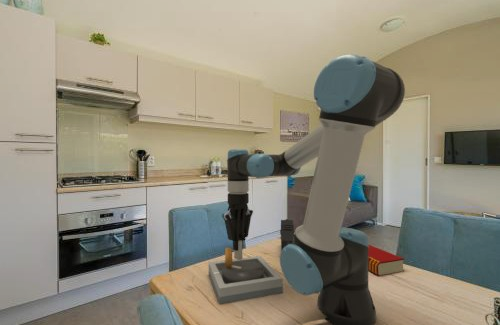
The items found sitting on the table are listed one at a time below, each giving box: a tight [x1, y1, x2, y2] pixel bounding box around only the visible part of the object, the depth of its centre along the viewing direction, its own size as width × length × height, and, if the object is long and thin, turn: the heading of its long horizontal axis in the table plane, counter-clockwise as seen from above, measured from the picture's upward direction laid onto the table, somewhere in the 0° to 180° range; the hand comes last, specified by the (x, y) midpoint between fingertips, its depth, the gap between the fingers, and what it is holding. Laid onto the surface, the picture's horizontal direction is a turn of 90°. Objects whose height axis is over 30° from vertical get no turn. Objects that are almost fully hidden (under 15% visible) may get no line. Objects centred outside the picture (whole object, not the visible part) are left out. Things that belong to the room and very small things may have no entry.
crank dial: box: [222, 247, 264, 284], centre depth 85 cm, size 14×14×8 cm
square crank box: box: [208, 255, 284, 305], centre depth 85 cm, size 20×20×5 cm
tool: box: [279, 218, 295, 251], centre depth 110 cm, size 6×19×15 cm, turn 174°
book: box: [368, 243, 405, 277], centre depth 101 cm, size 18×13×5 cm
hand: (238, 258), depth 90 cm, fingers closed
